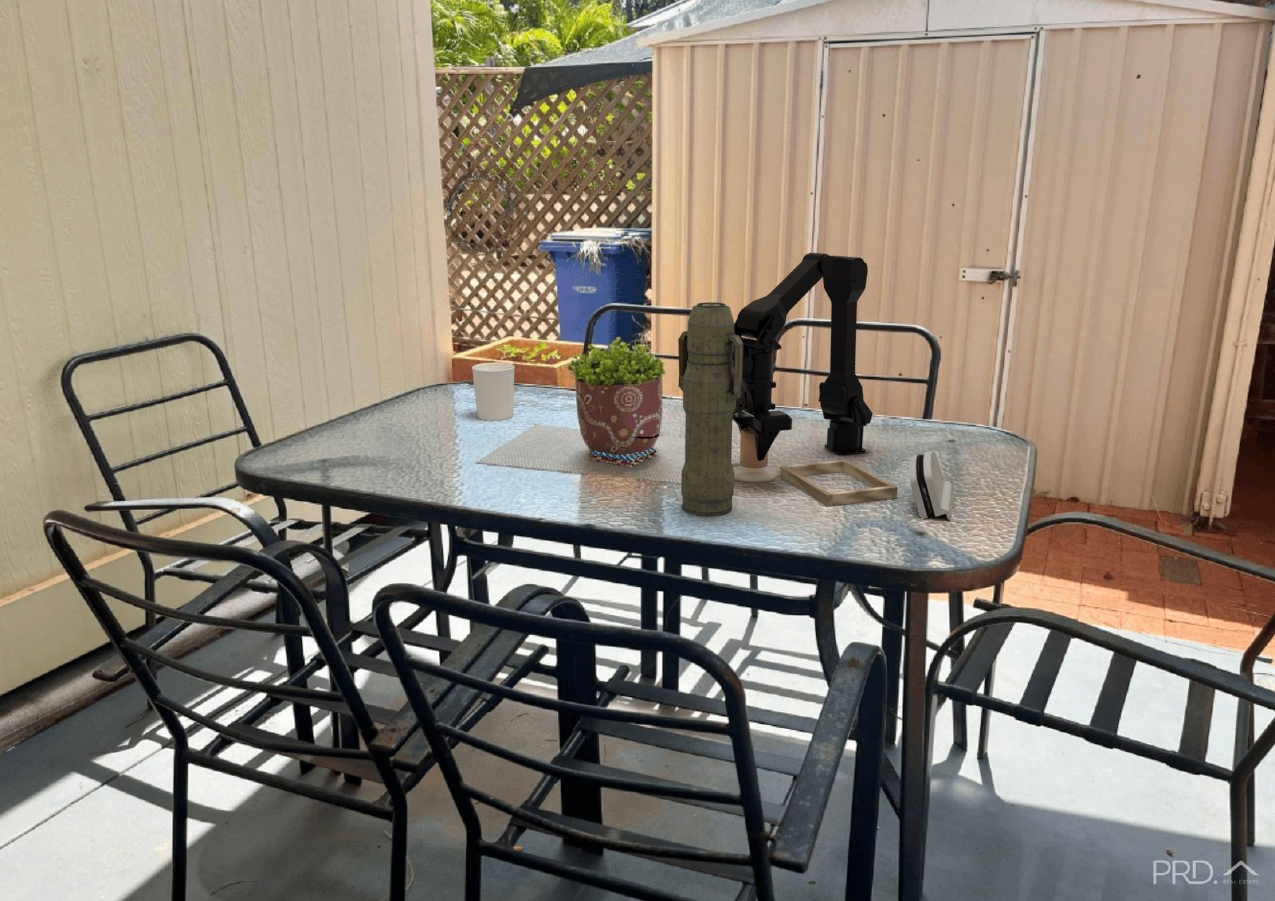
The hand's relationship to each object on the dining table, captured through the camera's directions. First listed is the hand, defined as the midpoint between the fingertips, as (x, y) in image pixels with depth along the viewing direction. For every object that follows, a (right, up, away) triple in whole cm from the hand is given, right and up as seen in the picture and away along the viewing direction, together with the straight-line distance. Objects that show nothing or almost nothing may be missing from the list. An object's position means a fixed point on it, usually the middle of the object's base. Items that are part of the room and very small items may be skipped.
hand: (754, 456), depth 188 cm
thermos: (-10, -9, -17) cm, 21 cm away
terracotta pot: (0, -1, 0) cm, 2 cm away
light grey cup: (-56, +9, +46) cm, 72 cm away
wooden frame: (+14, -5, -6) cm, 16 cm away
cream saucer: (0, -4, +1) cm, 4 cm away
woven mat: (-25, -1, +13) cm, 28 cm away
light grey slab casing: (+29, -8, -15) cm, 33 cm away
